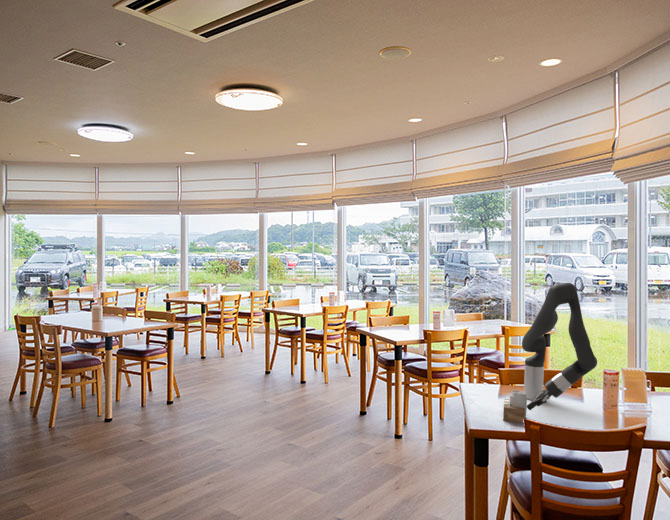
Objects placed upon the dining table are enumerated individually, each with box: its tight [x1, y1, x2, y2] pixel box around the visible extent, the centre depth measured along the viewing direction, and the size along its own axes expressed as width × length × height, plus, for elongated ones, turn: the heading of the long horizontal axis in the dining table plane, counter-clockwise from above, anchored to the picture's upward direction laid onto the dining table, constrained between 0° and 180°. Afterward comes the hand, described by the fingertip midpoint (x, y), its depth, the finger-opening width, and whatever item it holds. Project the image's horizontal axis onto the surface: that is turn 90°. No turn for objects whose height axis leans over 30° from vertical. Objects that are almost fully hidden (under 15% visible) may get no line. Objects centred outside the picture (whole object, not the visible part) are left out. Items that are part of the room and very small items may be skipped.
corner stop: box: [502, 398, 526, 424], centre depth 232 cm, size 14×9×7 cm, turn 160°
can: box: [509, 390, 528, 419], centre depth 231 cm, size 8×8×12 cm
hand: (528, 408), depth 230 cm, fingers closed
